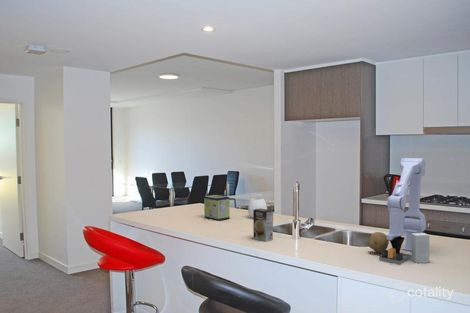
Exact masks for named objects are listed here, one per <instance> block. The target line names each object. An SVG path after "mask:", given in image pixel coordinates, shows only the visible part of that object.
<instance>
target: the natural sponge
mask: <svg viewBox="0 0 470 313" xmlns="http://www.w3.org/2000/svg"><path fill="white" fill-rule="evenodd" d="M389 243H390V241H389V240H387V234H386V233H384V232H381V231H376V232H373V233H372V234H371V235H370V236H369V238H368V241H367V244H368V247H369V248H370V249H371V250H373V251H374V252H375V253H377V254H379V255H380V254H382V251H383V250H388V248H389V247H388V246H389Z"/></svg>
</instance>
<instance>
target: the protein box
mask: <svg viewBox="0 0 470 313" xmlns="http://www.w3.org/2000/svg"><path fill="white" fill-rule="evenodd" d="M203 197H204V198H203V200H204V202H203V203H204V205H203V206H204V207H203V208H204V209H203V210H204V214H203V215H204V219H207V220H211V221H216V222H220V221H225V220H230V217H231V216H230V214H231V213H230V196H225V195H219V194H218V195H217V194H212V195H204V196H203Z"/></svg>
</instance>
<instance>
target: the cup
mask: <svg viewBox="0 0 470 313" xmlns="http://www.w3.org/2000/svg"><path fill="white" fill-rule="evenodd" d="M247 205H248V207H247V211H248V212H247V213H248V216H249V217H250V218H251V219H253V210H254V209H260V208H261V209H267V210H268V205H267V202H266V201H265V198H263V197H252V198H251V199H250V201H249V203H248V204H247Z"/></svg>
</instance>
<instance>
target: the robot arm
mask: <svg viewBox="0 0 470 313" xmlns="http://www.w3.org/2000/svg"><path fill="white" fill-rule="evenodd" d="M399 165H400V170H401V174H400V178H399V181H398V182H396V183H395V185H394V187H393V188H394V189H393V191H392V193H391V195H390V196H388V197H387V202H386V203H387V210H388V212H389V232H388V234H386V236H387V240H389V243H390V244H391V248H394V249H396V254H397V253H401V250H405V251H410V252H412V242H411V234H412V233H424V231H425V230H426V228H427V227H426V226H427V221H426V215H425V214H424V213H422V212H421V210H420V206H421V205H420V204H421V202H420V201H421V188H422V187H421V184H422V183H421V182H422V177H423V176H425V174H426V160H425V159H424V157H419V158H417V157H402V158H401V159H400V162H399ZM408 192H409V193H408ZM407 194H408V210H406V211H405V208H406V207H407V206H406V205H407ZM404 211H405V212H404ZM404 236H405V237H404ZM404 240H405V242H404ZM403 243H405V244H404V245H405V246H404V247H402V246H403Z"/></svg>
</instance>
